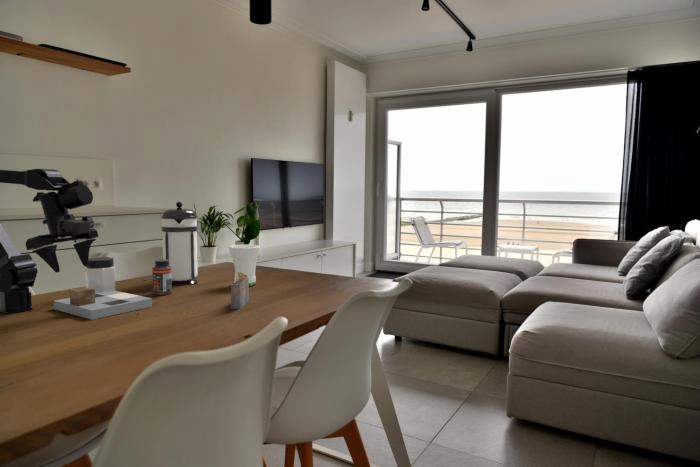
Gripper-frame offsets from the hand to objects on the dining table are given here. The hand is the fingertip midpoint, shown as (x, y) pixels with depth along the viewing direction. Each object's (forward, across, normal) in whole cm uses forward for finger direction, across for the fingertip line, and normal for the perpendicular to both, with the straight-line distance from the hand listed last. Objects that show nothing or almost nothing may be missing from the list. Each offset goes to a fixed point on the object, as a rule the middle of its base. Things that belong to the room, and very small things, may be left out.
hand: (72, 269), depth 135 cm
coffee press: (+13, +50, +7) cm, 52 cm away
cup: (+20, +53, -18) cm, 60 cm away
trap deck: (+13, +8, +2) cm, 15 cm away
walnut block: (+10, +2, +2) cm, 10 cm away
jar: (+10, +21, +15) cm, 28 cm away
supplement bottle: (+15, +30, -1) cm, 34 cm away
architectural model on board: (+24, +25, -32) cm, 47 cm away
